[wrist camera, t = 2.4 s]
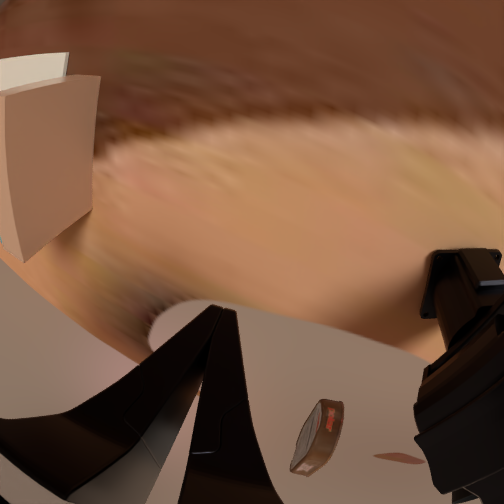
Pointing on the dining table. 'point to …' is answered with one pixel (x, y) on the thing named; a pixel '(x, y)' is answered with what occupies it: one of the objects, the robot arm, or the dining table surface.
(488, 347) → the robot arm
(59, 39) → the dining table surface
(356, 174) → the dining table surface
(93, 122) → the tile
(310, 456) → the tin
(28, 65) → the mat
